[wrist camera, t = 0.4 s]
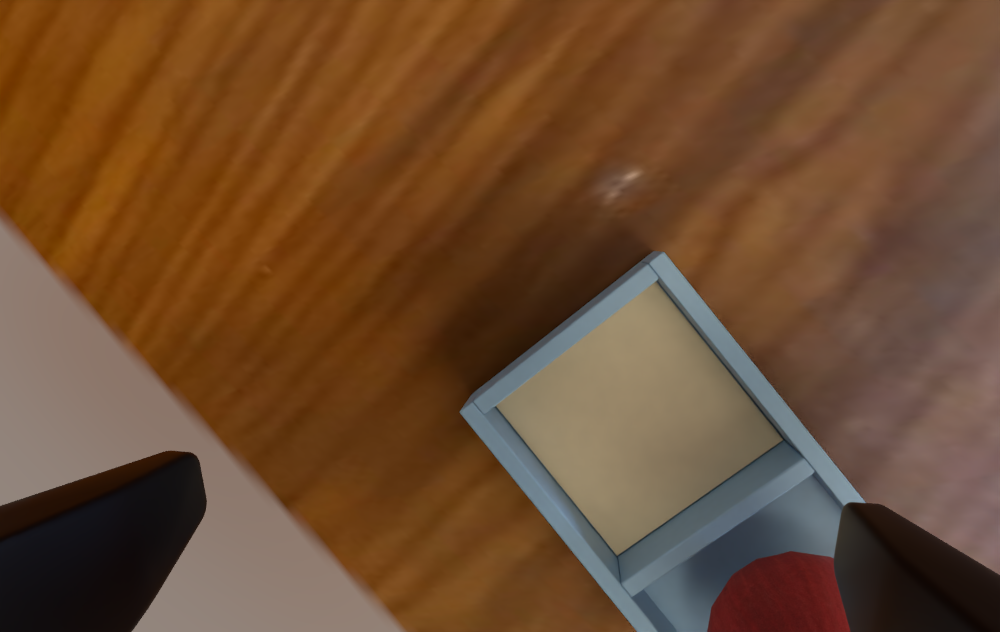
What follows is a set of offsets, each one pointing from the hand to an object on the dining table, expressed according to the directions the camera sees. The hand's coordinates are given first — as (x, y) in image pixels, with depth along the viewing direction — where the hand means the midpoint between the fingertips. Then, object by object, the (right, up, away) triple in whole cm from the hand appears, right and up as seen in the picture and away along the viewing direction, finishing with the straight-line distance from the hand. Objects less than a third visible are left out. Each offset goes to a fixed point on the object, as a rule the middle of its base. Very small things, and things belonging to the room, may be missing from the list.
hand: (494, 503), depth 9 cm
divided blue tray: (+7, -4, +14) cm, 16 cm away
